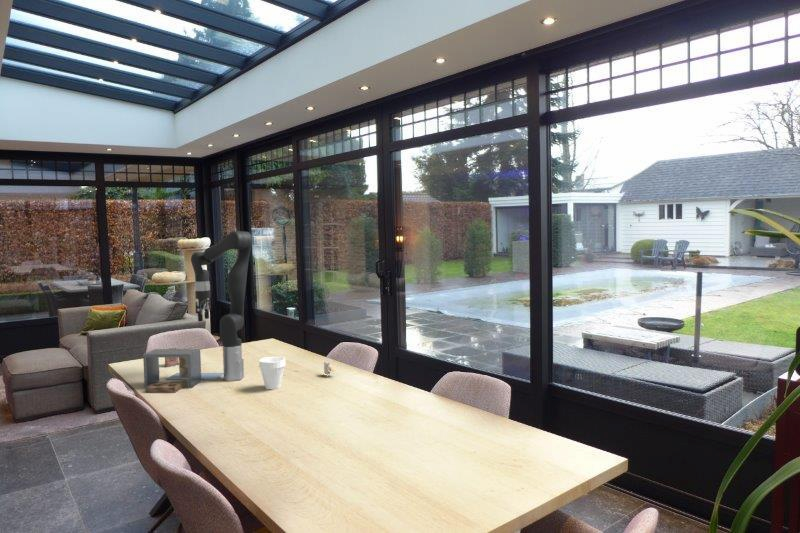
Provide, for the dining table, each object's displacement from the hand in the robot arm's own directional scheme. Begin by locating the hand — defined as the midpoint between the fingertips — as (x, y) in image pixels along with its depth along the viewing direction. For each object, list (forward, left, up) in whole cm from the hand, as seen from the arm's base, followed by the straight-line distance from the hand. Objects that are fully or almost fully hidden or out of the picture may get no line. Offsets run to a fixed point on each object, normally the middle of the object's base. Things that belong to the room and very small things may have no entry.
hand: (203, 319), depth 299 cm
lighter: (+25, -14, -28) cm, 40 cm away
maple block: (+6, +11, -28) cm, 30 cm away
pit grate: (+6, +35, -28) cm, 45 cm away
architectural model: (-67, +8, -29) cm, 74 cm away
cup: (-45, +30, -28) cm, 61 cm away
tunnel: (+6, +25, -28) cm, 38 cm away
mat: (+1, +10, -28) cm, 30 cm away
